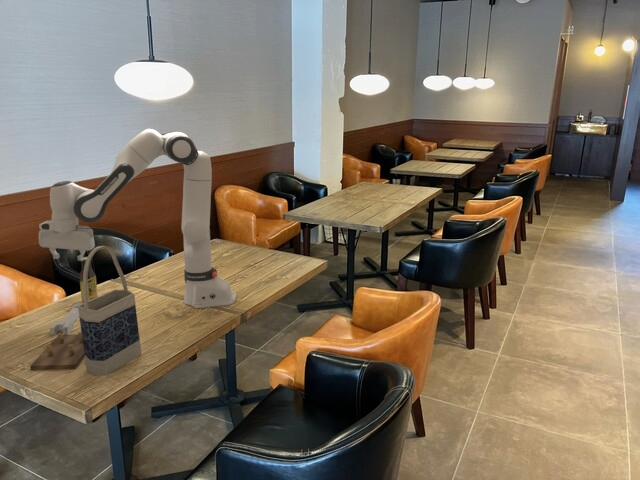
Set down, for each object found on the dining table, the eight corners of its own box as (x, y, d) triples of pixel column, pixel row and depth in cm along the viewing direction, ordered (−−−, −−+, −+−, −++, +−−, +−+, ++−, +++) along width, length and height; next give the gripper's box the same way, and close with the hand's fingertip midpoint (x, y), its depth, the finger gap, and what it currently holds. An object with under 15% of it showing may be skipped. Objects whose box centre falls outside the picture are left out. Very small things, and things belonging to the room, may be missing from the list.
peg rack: (98, 337, 184) (97, 324, 183) (76, 368, 163) (74, 354, 162) (58, 338, 183) (57, 326, 182) (30, 370, 162) (28, 356, 160)
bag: (102, 378, 158) (86, 256, 147) (82, 371, 161) (65, 252, 150) (144, 352, 174) (133, 240, 163) (125, 347, 177) (113, 237, 166)
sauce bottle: (92, 306, 211) (86, 261, 205) (79, 305, 212) (73, 260, 207) (101, 300, 217) (96, 256, 212) (88, 299, 218) (83, 255, 213)
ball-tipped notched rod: (74, 309, 208) (73, 302, 207) (89, 309, 208) (88, 302, 207) (50, 335, 185) (49, 327, 185) (67, 334, 186) (66, 327, 185)
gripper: (96, 224, 192) (99, 258, 196) (44, 220, 193) (47, 254, 197) (88, 228, 186) (90, 264, 190) (34, 224, 187) (38, 259, 191)
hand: (68, 259), depth 194 cm, fingers open, 8 cm apart
